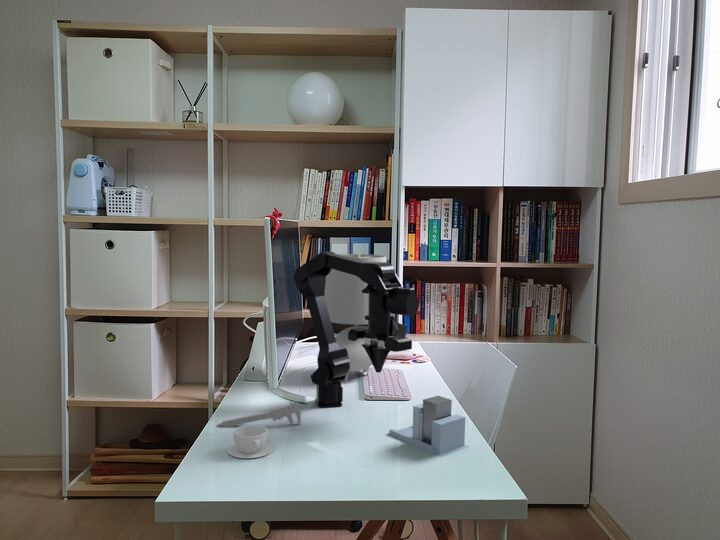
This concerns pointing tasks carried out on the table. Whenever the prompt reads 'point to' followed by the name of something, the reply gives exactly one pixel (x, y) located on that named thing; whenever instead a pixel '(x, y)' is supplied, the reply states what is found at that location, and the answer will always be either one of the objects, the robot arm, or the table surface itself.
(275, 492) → the table surface
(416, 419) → the free jaw
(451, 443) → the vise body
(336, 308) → the table lamp
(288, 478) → the table surface
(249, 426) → the teacup
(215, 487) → the table surface
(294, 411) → the caliper
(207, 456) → the table surface
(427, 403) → the block
